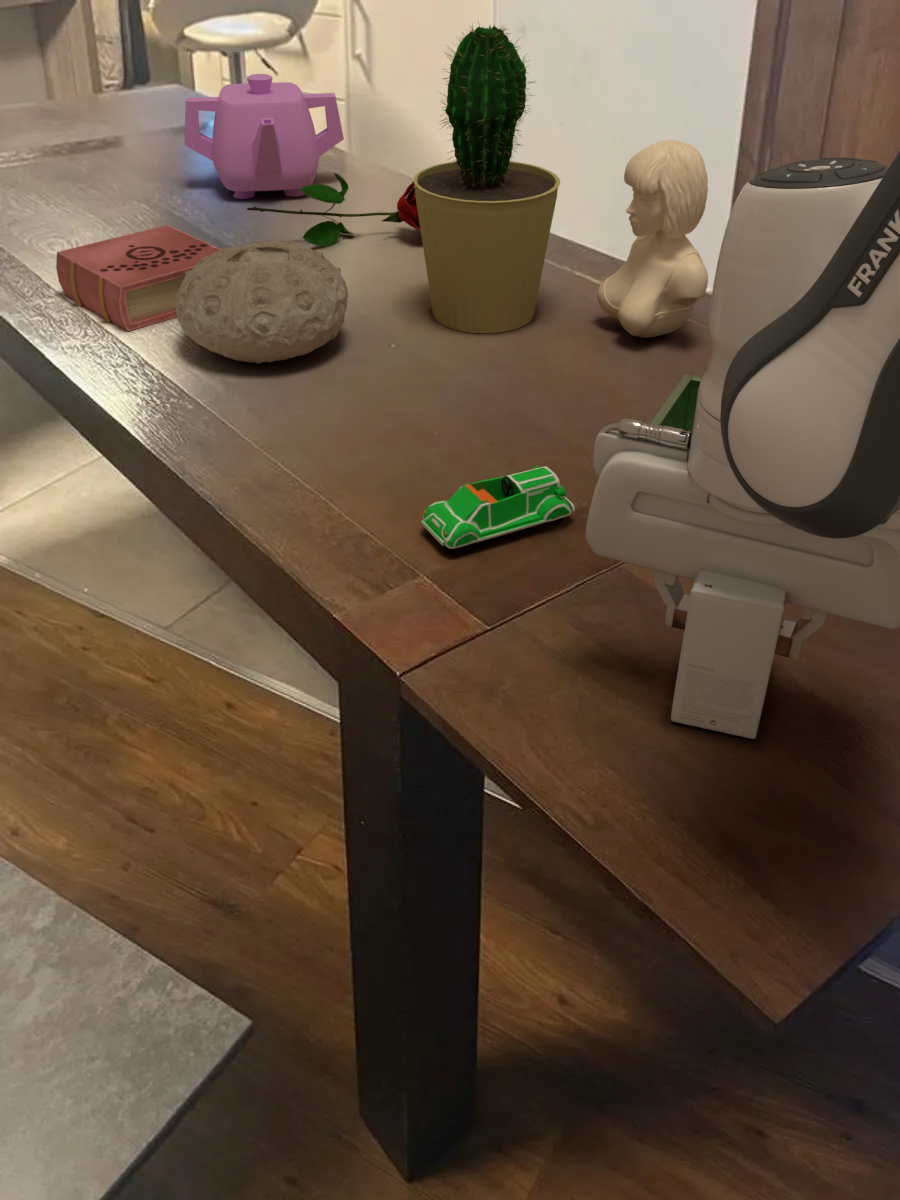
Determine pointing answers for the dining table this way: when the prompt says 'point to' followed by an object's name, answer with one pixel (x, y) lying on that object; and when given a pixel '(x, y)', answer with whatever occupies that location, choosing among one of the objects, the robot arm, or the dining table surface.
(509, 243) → the potted cactus
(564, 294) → the dining table surface
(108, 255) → the book
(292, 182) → the teapot
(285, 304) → the decorative shell
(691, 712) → the small box
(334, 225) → the flower
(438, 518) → the toy car
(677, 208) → the figurine
